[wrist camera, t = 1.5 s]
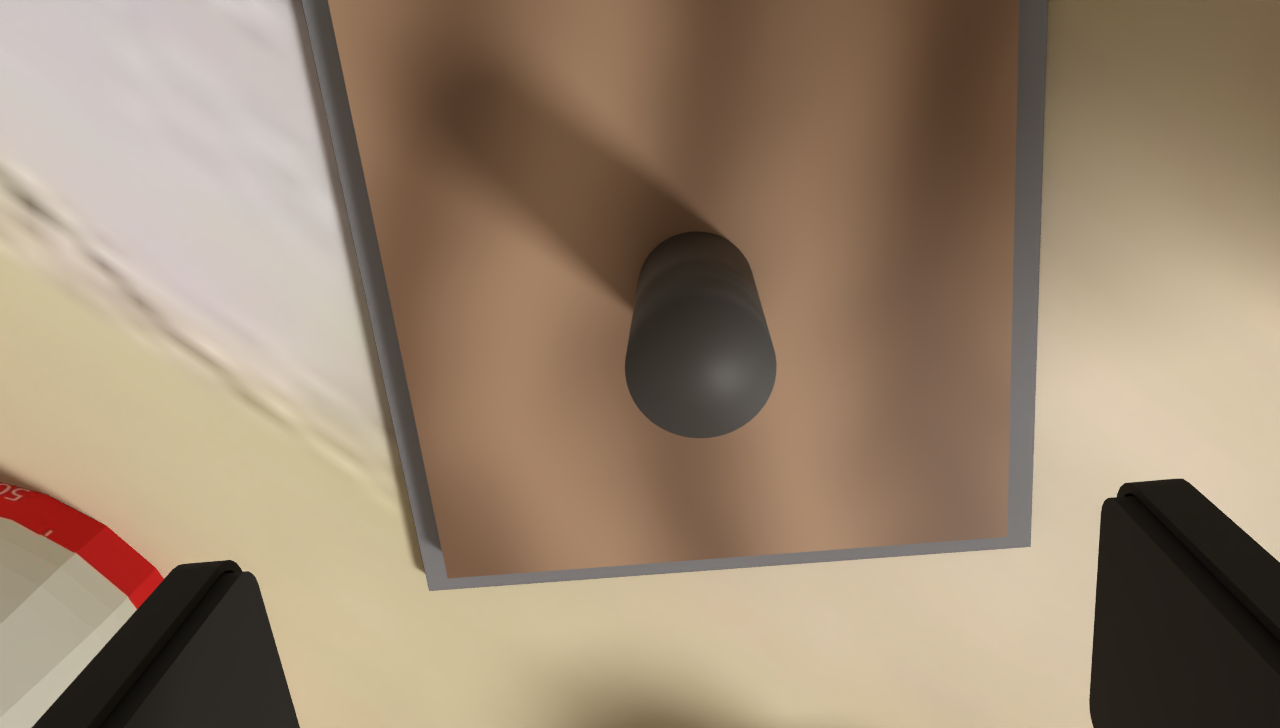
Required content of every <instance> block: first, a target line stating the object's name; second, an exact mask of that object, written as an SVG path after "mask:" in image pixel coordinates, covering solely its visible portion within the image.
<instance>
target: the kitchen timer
mask: <svg viewBox="0 0 1280 728" xmlns="http://www.w3.org/2000/svg"><path fill="white" fill-rule="evenodd" d="M163 580H164V579H163V577H162V576H161V574H160V573H159V572H158V570H157V569H156V568H155V567H154V566H153V565H152V564H150V563H149V562H148V561H147V560H146V559H145V558H143V557H142V556H141V555H140V554H139V553H138V552H136V551H135V550H134V549H133V548H132V547H131V546H129V545H128V544H127V543H126V542H125V541H124V540H122V539H121V538H120V537H119V536H118V535H117V534H115V533H114V532H113V531H112V530H111V529H110V528H108V527H107V526H106V525H104V524H102V523H100V522H98V521H96V520H94V519H92V518H90V517H88V516H87V515H85V514H83V513H81V512H79V511H77V510H75V509H73V508H71V507H69V506H68V505H66V504H64V503H62V502H60V501H58V500H56V499H54V498H52V497H50V496H49V495H46V494H42V493H39V492H35V491H31V490H27V489H23V488H20V487H16V486H12V485H8V484H5V483H1V482H0V728H32V727H33V725H34V724H35V723H36V722H37V721H38V720H39V719H40V718H41V716H42V715H43V714H44V713H45V712H46V711H47V710H48V709H49V707H50V706H51V705H52V704H53V703H54V702H55V701H56V700H57V699H58V697H59V696H60V695H61V694H62V693H63V692H64V691H65V690H66V688H67V687H68V686H69V685H70V684H71V683H72V682H73V681H74V679H75V678H76V677H77V676H78V675H79V674H80V673H81V672H82V671H83V669H84V668H85V667H86V666H87V665H88V664H89V663H90V662H91V660H92V659H93V658H94V657H95V656H96V655H97V654H98V653H99V652H100V650H101V649H102V648H103V647H104V646H105V645H106V644H107V643H108V641H109V640H110V639H111V638H112V637H113V636H114V635H115V634H116V632H117V631H118V630H119V629H120V628H121V627H122V626H123V625H124V624H125V622H126V621H127V620H128V619H129V618H130V617H131V616H132V615H133V613H134V612H135V611H136V610H137V609H138V608H139V607H140V606H141V604H142V603H143V602H144V601H145V600H146V599H147V598H148V597H149V596H150V594H151V593H152V592H153V591H154V590H155V589H156V588H157V587H158V585H159V584H160V583H161V582H162V581H163Z"/></svg>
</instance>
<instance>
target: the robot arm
mask: <svg viewBox="0 0 1280 728" xmlns="http://www.w3.org/2000/svg"><path fill="white" fill-rule="evenodd" d="M1089 701H1090V714H1091V719H1092V723H1093V727H1094V728H1280V562H1278V561H1277V560H1276V559H1275V558H1274V557H1273V556H1272V555H1270V554H1269V553H1268V552H1267V551H1266V550H1265V549H1264V548H1263V547H1261V546H1260V545H1259V544H1258V543H1257V542H1256V541H1255V540H1253V539H1252V538H1251V537H1250V536H1249V535H1248V534H1247V533H1246V532H1244V531H1243V530H1242V529H1241V528H1240V527H1239V526H1238V525H1236V524H1235V523H1234V522H1233V521H1232V520H1231V519H1230V518H1229V517H1227V516H1226V515H1225V514H1224V513H1223V512H1222V511H1221V510H1219V509H1218V508H1217V507H1216V506H1215V505H1214V504H1213V503H1212V502H1210V501H1209V500H1208V499H1207V498H1206V497H1205V496H1204V495H1202V494H1201V493H1200V492H1199V491H1198V490H1197V489H1196V488H1195V487H1193V486H1192V485H1191V484H1190V483H1189V482H1187V481H1185V480H1184V479H1167V480H1156V481H1144V482H1133V483H1125V484H1123V485H1122V486H1121V487H1120V489H1119V491H1118V494H1117V497H1116V498H1107V499H1106V500H1105V501H1104V503H1103V506H1102V511H1101V523H1100V540H1099V556H1098V572H1097V588H1096V604H1095V620H1094V636H1093V652H1092V668H1091V684H1090V700H1089ZM32 728H300V727H299V723H298V720H297V716H296V713H295V709H294V706H293V703H292V699H291V696H290V692H289V689H288V685H287V682H286V678H285V675H284V671H283V668H282V664H281V661H280V658H279V654H278V651H277V647H276V644H275V640H274V637H273V633H272V630H271V626H270V623H269V620H268V616H267V613H266V609H265V606H264V602H263V599H262V595H261V592H260V588H259V585H258V582H257V580H256V578H255V576H254V575H253V574H252V573H250V572H248V571H247V572H242V570H241V568H240V567H239V566H238V564H237V563H236V562H234V561H231V560H226V561H214V562H202V563H191V564H182V565H178V566H177V567H176V568H174V569H173V570H172V571H171V572H170V573H169V574H168V575H167V577H166V578H165V579H164V580H163V581H162V582H161V583H160V584H159V585H158V587H157V588H156V589H155V590H154V591H153V592H152V593H151V594H150V596H149V597H148V598H147V599H146V600H145V601H144V602H143V603H142V604H141V606H140V607H139V608H138V609H137V610H136V611H135V612H134V613H133V615H132V616H131V617H130V618H129V619H128V620H127V621H126V622H125V624H124V625H123V626H122V627H121V628H120V629H119V630H118V631H117V632H116V634H115V635H114V636H113V637H112V638H111V639H110V640H109V641H108V643H107V644H106V645H105V646H104V647H103V648H102V649H101V650H100V652H99V653H98V654H97V655H96V656H95V657H94V658H93V659H92V660H91V662H90V663H89V664H88V665H87V666H86V667H85V668H84V669H83V671H82V672H81V673H80V674H79V675H78V676H77V677H76V678H75V679H74V681H73V682H72V683H71V684H70V685H69V686H68V687H67V688H66V690H65V691H64V692H63V693H62V694H61V695H60V696H59V697H58V699H57V700H56V701H55V702H54V703H53V704H52V705H51V706H50V707H49V709H48V710H47V711H46V712H45V713H44V714H43V715H42V716H41V718H40V719H39V720H38V721H37V722H36V723H35V724H34V725H33V727H32Z"/></svg>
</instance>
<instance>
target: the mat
mask: <svg viewBox="0 0 1280 728" xmlns="http://www.w3.org/2000/svg"><path fill="white" fill-rule="evenodd" d="M302 4H303V9H304V13H305V18H306V23H307V27H308V32H309V37H310V41H311V46H312V50H313V55H314V60H315V64H316V69H317V74H318V78H319V83H320V88H321V92H322V97H323V101H324V106H325V111H326V115H327V120H328V125H329V129H330V134H331V138H332V143H333V148H334V152H335V157H336V162H337V166H338V171H339V175H340V180H341V185H342V189H343V194H344V199H345V203H346V208H347V213H348V217H349V222H350V226H351V231H352V236H353V240H354V245H355V250H356V254H357V259H358V263H359V268H360V273H361V277H362V282H363V287H364V291H365V296H366V300H367V305H368V310H369V314H370V319H371V324H372V328H373V333H374V338H375V342H376V347H377V351H378V356H379V361H380V365H381V370H382V375H383V379H384V384H385V388H386V393H387V398H388V402H389V407H390V412H391V416H392V421H393V425H394V430H395V435H396V439H397V444H398V449H399V453H400V458H401V463H402V467H403V472H404V476H405V481H406V486H407V490H408V495H409V500H410V504H411V509H412V513H413V518H414V523H415V527H416V532H417V537H418V541H419V546H420V550H421V555H422V560H423V564H424V569H425V574H426V578H427V583H428V588H429V591H435V590H449V589H462V588H476V587H489V586H503V585H517V584H530V583H544V582H557V581H571V580H585V579H598V578H612V577H625V576H639V575H653V574H666V573H680V572H693V571H707V570H721V569H734V568H748V567H761V566H775V565H789V564H802V563H816V562H829V561H843V560H857V559H870V558H884V557H897V556H911V555H925V554H938V553H952V552H965V551H979V550H993V549H1006V548H1020V547H1031V516H1032V484H1033V453H1034V422H1035V391H1036V359H1037V328H1038V297H1039V265H1040V234H1041V203H1042V172H1043V140H1044V109H1045V78H1046V47H1047V15H1048V0H1019V39H1018V83H1017V128H1016V172H1015V217H1014V261H1013V306H1012V350H1011V395H1010V439H1009V484H1008V528H1007V537H999V538H986V539H972V540H959V541H945V542H932V543H918V544H905V545H892V546H878V547H865V548H851V549H838V550H824V551H811V552H798V553H784V554H771V555H757V556H744V557H730V558H717V559H704V560H690V561H677V562H663V563H650V564H636V565H623V566H610V567H596V568H583V569H569V570H556V571H542V572H529V573H516V574H502V575H489V576H475V577H462V578H448V577H447V573H446V568H445V563H444V558H443V553H442V549H441V544H440V539H439V534H438V529H437V524H436V520H435V515H434V510H433V505H432V500H431V495H430V491H429V486H428V481H427V476H426V471H425V467H424V462H423V457H422V452H421V447H420V442H419V438H418V433H417V428H416V423H415V418H414V413H413V409H412V404H411V399H410V394H409V389H408V384H407V380H406V375H405V370H404V365H403V360H402V356H401V351H400V346H399V341H398V336H397V331H396V327H395V322H394V317H393V312H392V307H391V302H390V298H389V293H388V288H387V283H386V278H385V274H384V269H383V264H382V259H381V254H380V249H379V245H378V240H377V235H376V230H375V225H374V220H373V216H372V211H371V206H370V201H369V196H368V192H367V187H366V182H365V177H364V172H363V167H362V163H361V158H360V153H359V148H358V143H357V138H356V134H355V129H354V124H353V119H352V114H351V110H350V105H349V100H348V95H347V90H346V85H345V81H344V76H343V71H342V66H341V61H340V56H339V52H338V47H337V42H336V37H335V32H334V28H333V23H332V18H331V13H330V8H329V3H328V0H302Z"/></svg>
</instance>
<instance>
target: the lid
mask: <svg viewBox="0 0 1280 728" xmlns="http://www.w3.org/2000/svg"><path fill="white" fill-rule="evenodd" d="M328 3H329V8H330V13H331V18H332V23H333V28H334V32H335V37H336V42H337V47H338V52H339V56H340V61H341V66H342V71H343V76H344V81H345V85H346V90H347V95H348V100H349V105H350V110H351V114H352V119H353V124H354V129H355V134H356V138H357V143H358V148H359V153H360V158H361V163H362V167H363V172H364V177H365V182H366V187H367V192H368V196H369V201H370V206H371V211H372V216H373V220H374V225H375V230H376V235H377V240H378V245H379V249H380V254H381V259H382V264H383V269H384V274H385V278H386V283H387V288H388V293H389V298H390V302H391V307H392V312H393V317H394V322H395V327H396V331H397V336H398V341H399V346H400V351H401V356H402V360H403V365H404V370H405V375H406V380H407V384H408V389H409V394H410V399H411V404H412V409H413V413H414V418H415V423H416V428H417V433H418V438H419V442H420V447H421V452H422V457H423V462H424V467H425V471H426V476H427V481H428V486H429V491H430V495H431V500H432V505H433V510H434V515H435V520H436V524H437V529H438V534H439V539H440V544H441V549H442V553H443V558H444V563H445V568H446V573H447V577H448V578H462V577H475V576H489V575H502V574H516V573H529V572H542V571H556V570H569V569H583V568H596V567H610V566H623V565H636V564H650V563H663V562H677V561H690V560H704V559H717V558H730V557H744V556H757V555H771V554H784V553H798V552H811V551H824V550H838V549H851V548H865V547H878V546H892V545H905V544H918V543H932V542H945V541H959V540H972V539H986V538H999V537H1007V528H1008V484H1009V439H1010V395H1011V350H1012V306H1013V261H1014V217H1015V172H1016V128H1017V83H1018V39H1019V0H328Z"/></svg>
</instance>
